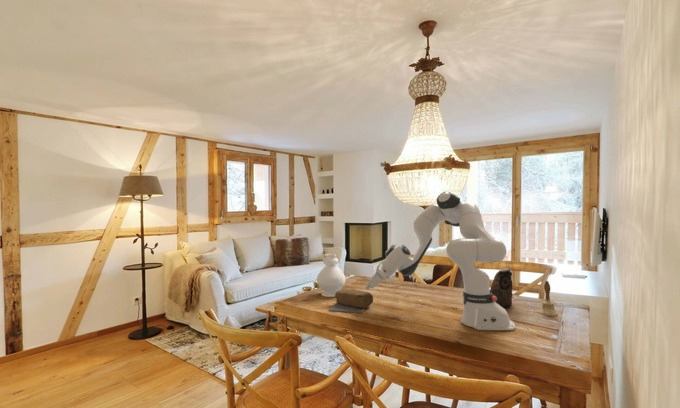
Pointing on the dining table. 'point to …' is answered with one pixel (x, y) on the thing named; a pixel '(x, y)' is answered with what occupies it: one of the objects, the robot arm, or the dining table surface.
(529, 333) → the dining table surface
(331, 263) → the decorative vase
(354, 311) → the mat
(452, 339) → the dining table surface
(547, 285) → the hand bell
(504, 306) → the owl
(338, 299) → the block
